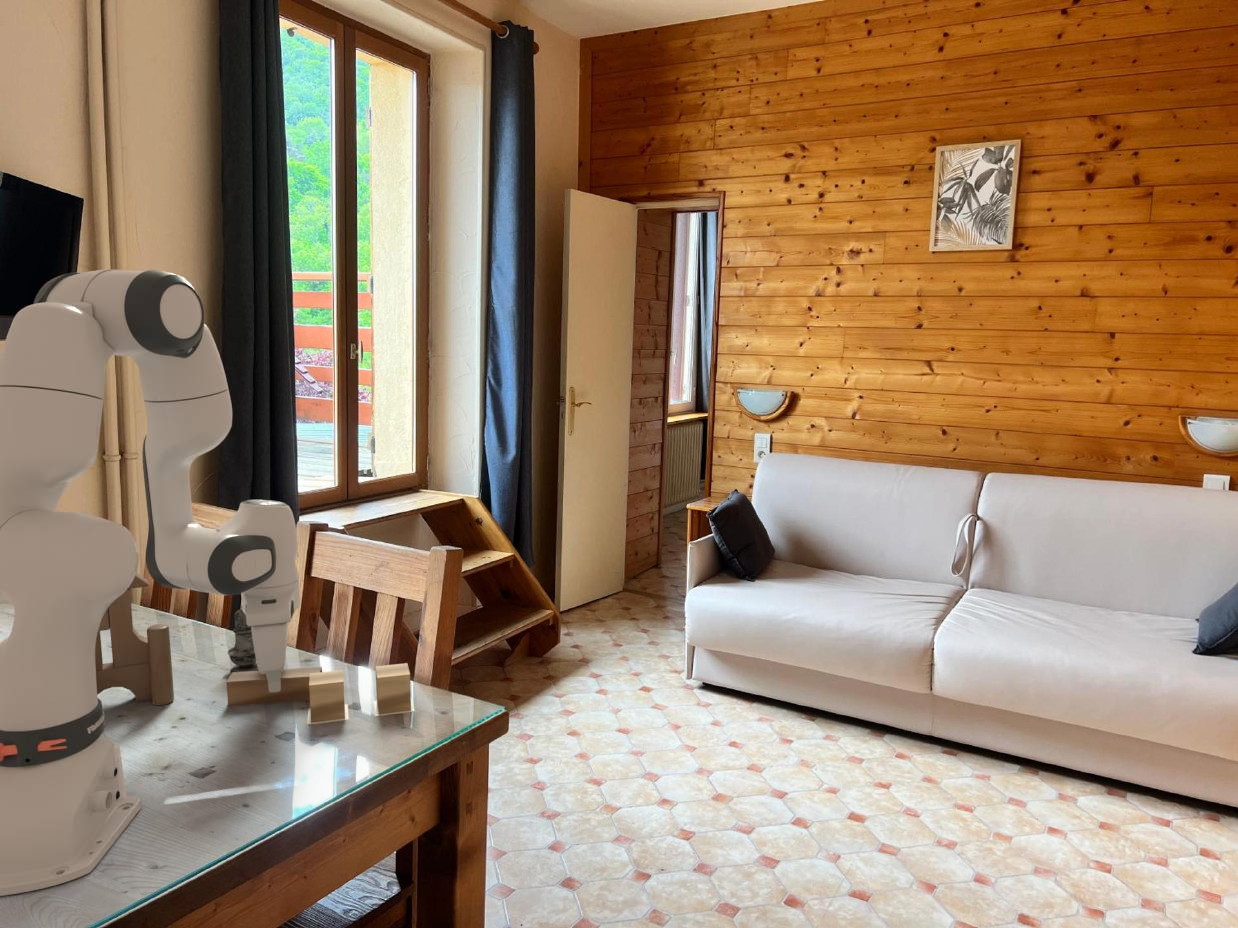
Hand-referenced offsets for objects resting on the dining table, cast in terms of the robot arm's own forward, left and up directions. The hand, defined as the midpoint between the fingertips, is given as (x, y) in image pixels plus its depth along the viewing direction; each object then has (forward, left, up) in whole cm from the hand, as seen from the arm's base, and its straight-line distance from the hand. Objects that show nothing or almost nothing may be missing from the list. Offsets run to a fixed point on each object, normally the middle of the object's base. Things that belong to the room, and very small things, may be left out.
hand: (276, 679), depth 145 cm
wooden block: (0, 0, -4) cm, 4 cm away
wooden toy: (+6, +24, -4) cm, 25 cm away
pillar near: (-9, -8, -3) cm, 13 cm away
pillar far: (-9, -18, -3) cm, 20 cm away
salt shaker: (+17, +6, -4) cm, 18 cm away
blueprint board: (-9, -13, -4) cm, 16 cm away
